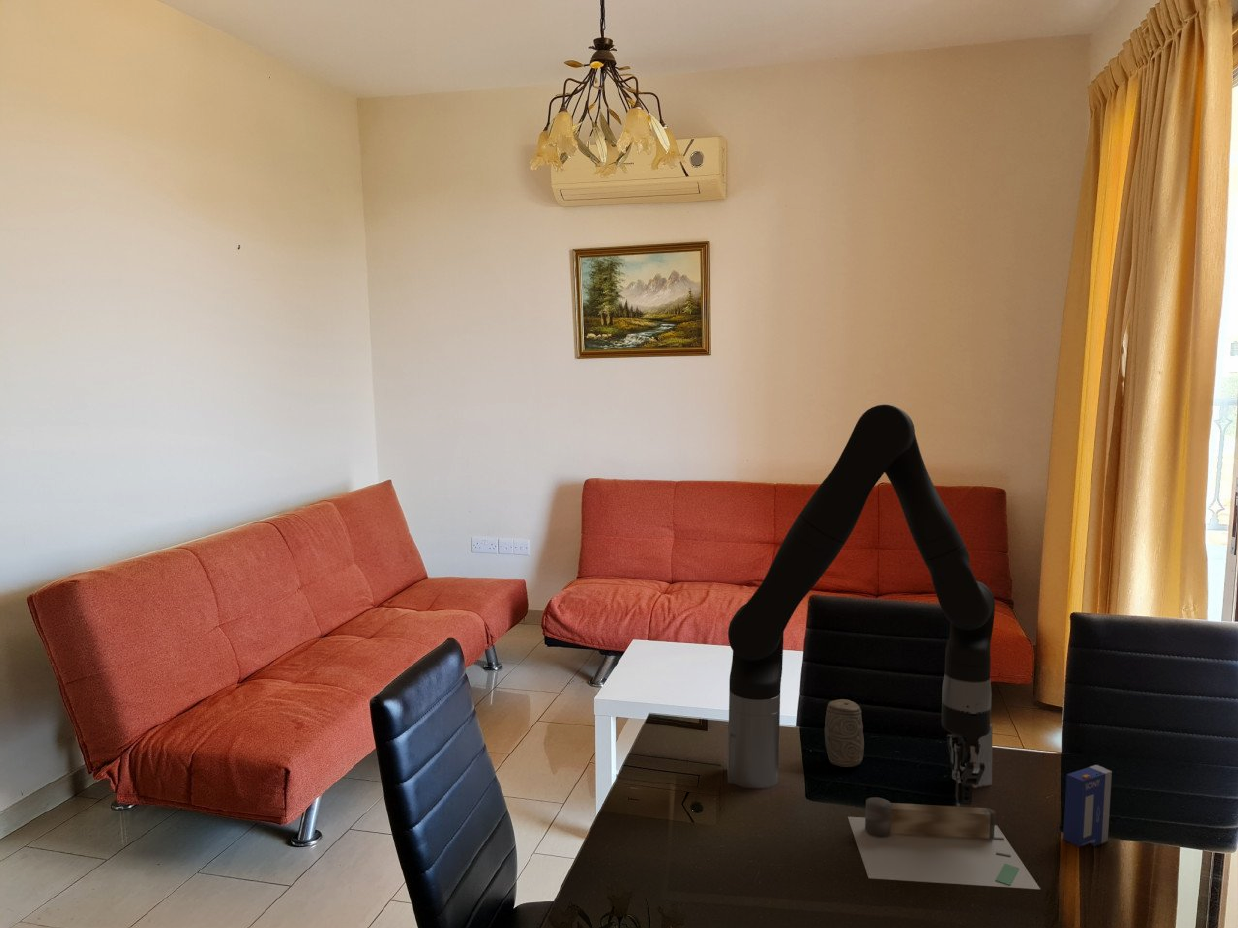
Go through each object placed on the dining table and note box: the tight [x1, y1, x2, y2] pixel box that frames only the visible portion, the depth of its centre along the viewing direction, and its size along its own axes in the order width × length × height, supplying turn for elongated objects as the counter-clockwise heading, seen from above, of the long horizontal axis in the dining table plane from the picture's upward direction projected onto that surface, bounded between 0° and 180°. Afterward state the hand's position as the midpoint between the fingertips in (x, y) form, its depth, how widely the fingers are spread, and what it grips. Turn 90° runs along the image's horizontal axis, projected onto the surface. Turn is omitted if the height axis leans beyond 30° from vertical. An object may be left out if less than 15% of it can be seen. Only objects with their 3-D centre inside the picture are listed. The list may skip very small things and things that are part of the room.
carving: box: [824, 698, 865, 768], centre depth 162 cm, size 6×8×12 cm
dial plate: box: [847, 816, 1041, 891], centre depth 130 cm, size 24×18×1 cm
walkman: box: [1062, 764, 1113, 848], centre depth 134 cm, size 8×3×12 cm, turn 118°
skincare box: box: [951, 724, 994, 789], centre depth 154 cm, size 6×4×12 cm
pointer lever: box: [864, 797, 996, 839], centre depth 134 cm, size 20×4×4 cm, turn 84°
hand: (963, 802), depth 140 cm, fingers closed
